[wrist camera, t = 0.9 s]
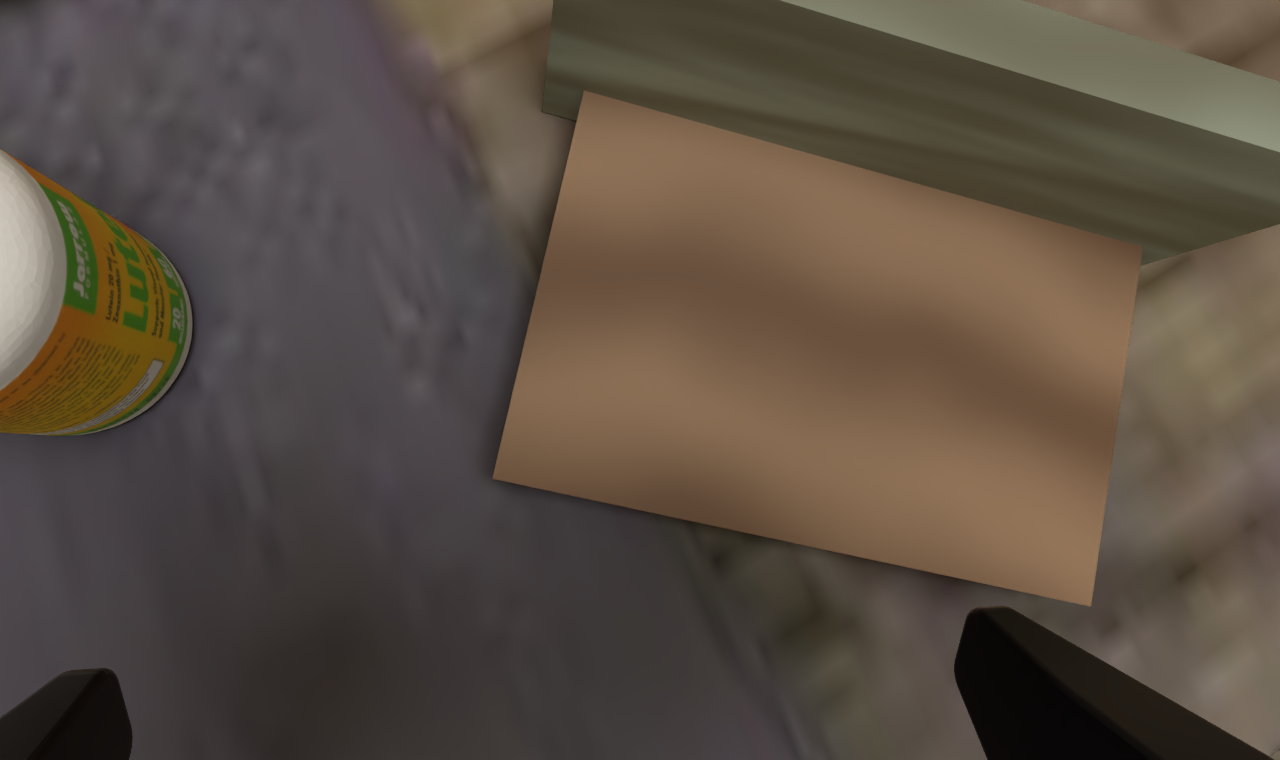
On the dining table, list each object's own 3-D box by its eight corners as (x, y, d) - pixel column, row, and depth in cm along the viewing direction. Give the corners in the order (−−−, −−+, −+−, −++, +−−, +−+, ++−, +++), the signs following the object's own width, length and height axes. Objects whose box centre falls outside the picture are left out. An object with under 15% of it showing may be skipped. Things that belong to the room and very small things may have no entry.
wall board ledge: (1074, 600, 24) (1347, 670, 16) (455, 468, 22) (427, 475, 14) (1130, 224, 26) (1404, 121, 18) (553, 61, 23) (579, -141, 15)
